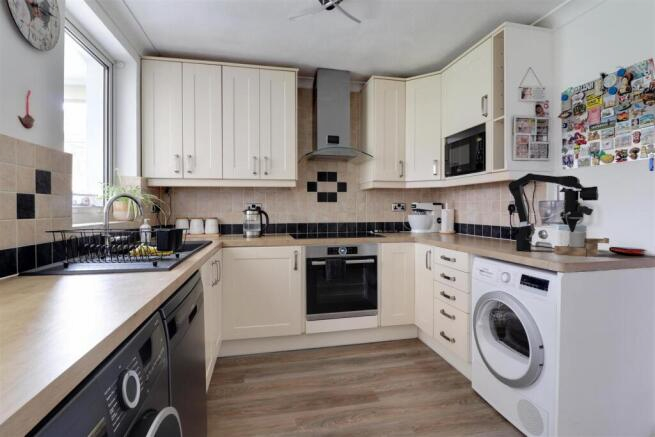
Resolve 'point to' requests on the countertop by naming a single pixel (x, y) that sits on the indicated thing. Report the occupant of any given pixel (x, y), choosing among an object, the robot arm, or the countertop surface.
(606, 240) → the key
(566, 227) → the lid
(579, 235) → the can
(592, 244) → the chisel box
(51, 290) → the countertop surface
